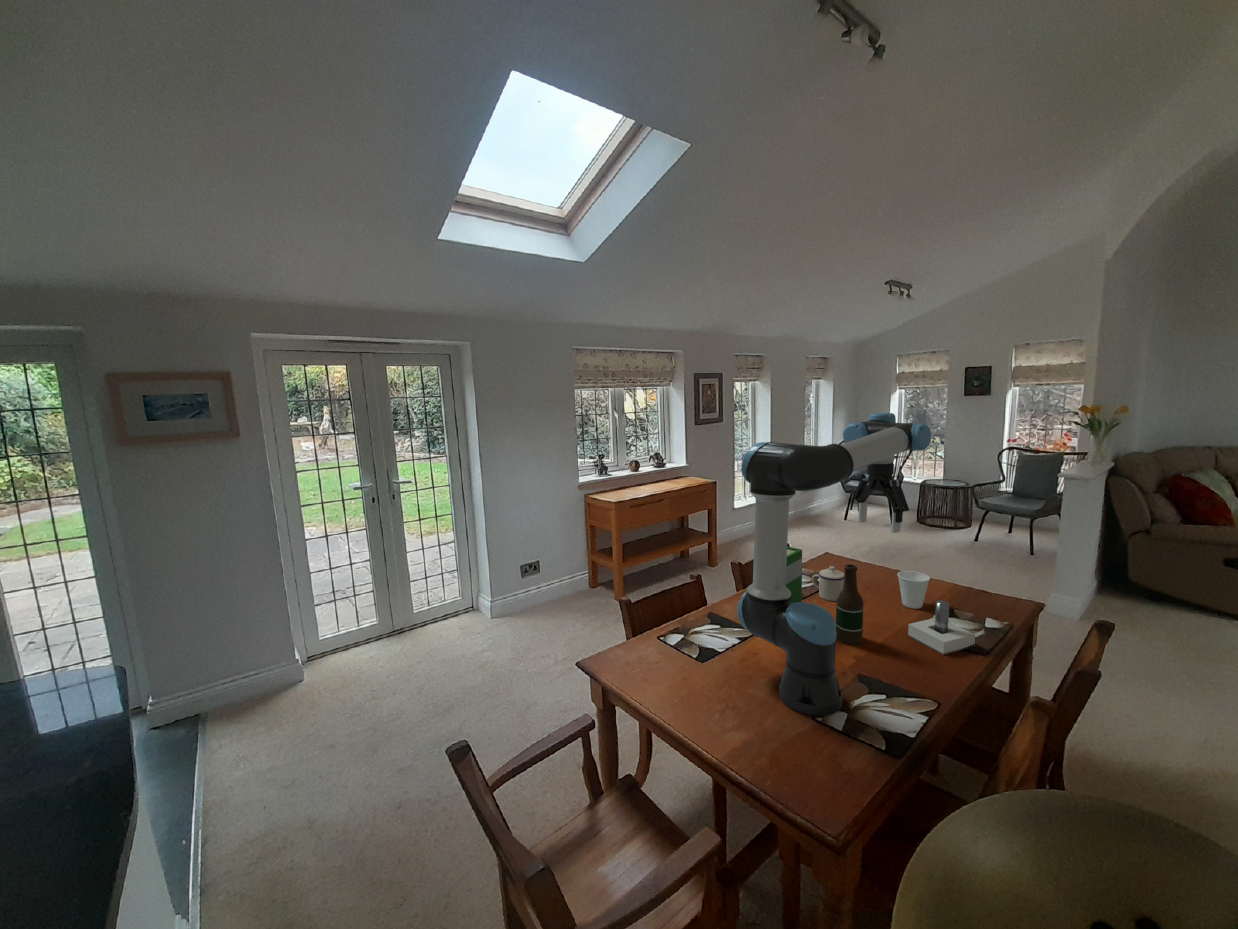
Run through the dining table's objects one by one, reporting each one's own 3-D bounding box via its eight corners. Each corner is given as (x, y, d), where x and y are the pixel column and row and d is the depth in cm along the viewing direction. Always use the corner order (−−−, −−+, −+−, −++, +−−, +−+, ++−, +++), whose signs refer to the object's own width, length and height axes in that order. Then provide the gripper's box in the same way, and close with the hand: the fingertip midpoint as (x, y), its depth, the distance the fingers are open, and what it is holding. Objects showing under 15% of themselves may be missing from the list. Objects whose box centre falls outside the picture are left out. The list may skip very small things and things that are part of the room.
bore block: (943, 655, 142) (943, 642, 142) (908, 636, 154) (908, 624, 153) (974, 647, 146) (975, 634, 145) (937, 629, 157) (938, 617, 156)
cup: (928, 602, 176) (930, 573, 174) (928, 613, 167) (930, 583, 166) (897, 597, 181) (898, 569, 179) (895, 608, 173) (896, 578, 171)
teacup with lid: (848, 596, 184) (849, 566, 182) (838, 604, 178) (839, 573, 176) (817, 587, 193) (817, 559, 191) (806, 595, 187) (807, 565, 185)
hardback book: (775, 634, 158) (775, 563, 155) (754, 627, 164) (754, 558, 160) (801, 616, 170) (802, 549, 166) (781, 610, 175) (782, 545, 172)
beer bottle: (866, 646, 149) (868, 570, 145) (838, 644, 150) (840, 570, 147) (858, 633, 156) (860, 561, 153) (832, 632, 158) (834, 561, 154)
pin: (941, 643, 148) (943, 605, 146) (931, 638, 151) (933, 601, 149) (950, 641, 148) (952, 603, 147) (939, 636, 152) (941, 599, 150)
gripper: (924, 466, 145) (921, 535, 148) (860, 456, 168) (858, 516, 172) (904, 468, 143) (901, 538, 146) (842, 458, 166) (841, 519, 169)
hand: (878, 526), depth 159 cm, fingers open, 13 cm apart
